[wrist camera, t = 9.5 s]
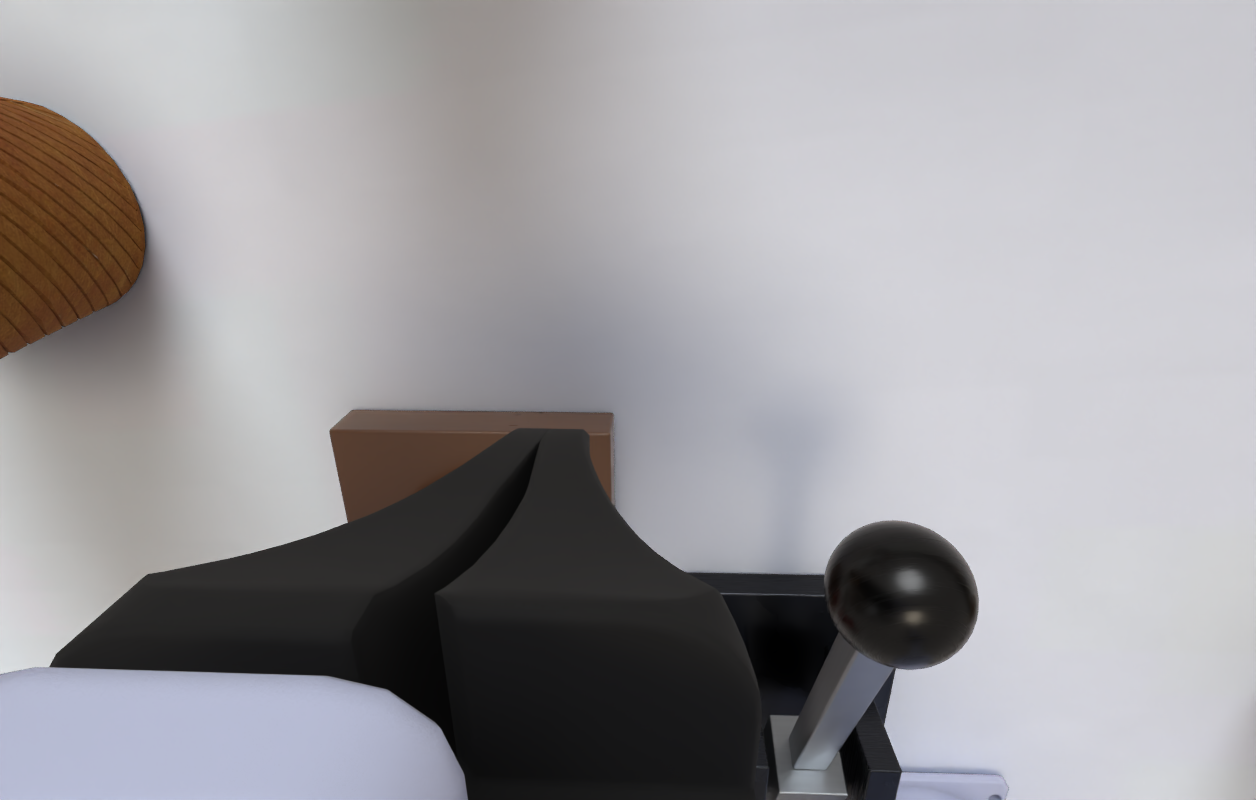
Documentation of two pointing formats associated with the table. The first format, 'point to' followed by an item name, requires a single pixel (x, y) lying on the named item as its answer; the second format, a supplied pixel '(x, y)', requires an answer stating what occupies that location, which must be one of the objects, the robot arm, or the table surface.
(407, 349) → the table surface
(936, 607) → the lever
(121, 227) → the disposable coffee cup
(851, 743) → the bracket
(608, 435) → the button block
